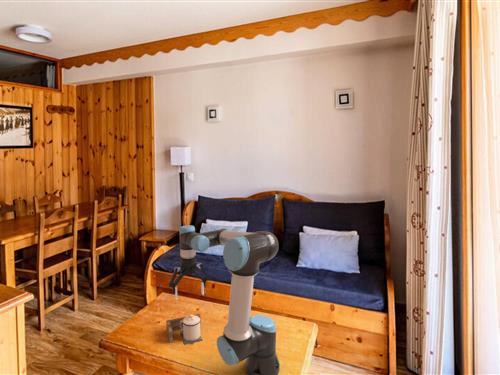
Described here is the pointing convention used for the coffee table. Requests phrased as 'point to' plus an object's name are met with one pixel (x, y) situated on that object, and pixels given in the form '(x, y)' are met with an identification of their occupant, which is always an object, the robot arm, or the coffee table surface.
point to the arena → (175, 325)
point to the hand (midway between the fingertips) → (189, 296)
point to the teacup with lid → (191, 327)
